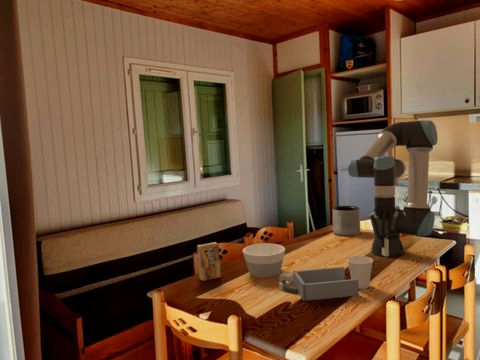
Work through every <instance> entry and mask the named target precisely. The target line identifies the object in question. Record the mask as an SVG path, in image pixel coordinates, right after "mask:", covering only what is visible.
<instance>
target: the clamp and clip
mask: <svg viewBox="0 0 480 360" xmlns="http://www.w3.org/2000/svg"><path fill="white" fill-rule="evenodd" d="M283 280H287V281H285V284H286V285H287V286H288V287H291V285H290V284H291V283H293V272H288V271H283V272H282V273H280V274H279V282H278V289H280V291H284V289H283V283H281V282H282V281H283Z"/></svg>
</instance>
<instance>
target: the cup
mask: <svg viewBox="0 0 480 360" xmlns="http://www.w3.org/2000/svg"><path fill="white" fill-rule="evenodd" d="M346 261H347V264H348V269H349V273H350V279H358V284H359V290H367V289H368V288H369V287H370V281H371V274H372V269H373V263H374V259H373V258H371V257H369V256H365V255H362V256H361V255H353V256H350V257H348V258H347V259H346Z"/></svg>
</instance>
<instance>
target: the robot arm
mask: <svg viewBox="0 0 480 360" xmlns="http://www.w3.org/2000/svg"><path fill="white" fill-rule="evenodd" d="M437 144H438V131H437V126H436V124H435V122H434V121H432V120H431V119H430V120H427V119H426V120H424V119H422V120H413V121H412V120H411V121H410V120H409V121H399V122H398V121H397V122H394V123H392V124H390V125H388V126H386V127H385V128H384V129H382V130H381V131H380V132H379V133H378V134H377V135H376V139H375V141H374V142H373V143H371V145H370V146H369V147H368V148H367V150H366V151H365V152H364V153H363V154H362V156H361V157H360V158H359V159H351V160H350V161H349V162H348V165H347V171H348V172H347V173H348V175H349V176H350V177H351V178H371V179H373V181H374V183H373V184H374V185H373V186H374V187H373V188H374V189H373V190H374V193H373V194H374V199H373V200H374V209H373V212H371V213H369V214H368V215H367V217H368V218H369V220H370V223H371V226H372V230H373V234H374V239H373V242H372V244H371V248H370V249H371V253H372V254H373V255H376V256H379V257H384V258H385V257H387V258H388V257H389V258H390V257H391V258H392V257H396V258H397V257H400V256H402V255H403V256H404V254H405V249H404V245H403V243H402V240H401V236H400V235H411V236H418V237H419V236H421V237H427V236H428V237H429V236H430V234H431V233H432V232H433V228H434V224H435V218H436V217H435V212H434V211H431V208H432V207H431V206H430V205H429V204H428V194H429V193H428V192H429V190H428V187H429V165H430V161H429V160H430V152H432V150H433V147H434V146H437ZM395 147H405V151H407V152H408V155H409V156H408V174H407V177H408V178H407V202H406V204H404V205H403V209H401V208H400V205H396V197H395V195H396V183H395V182H396V179H398V178H399V177H401V176H403V175H404V174H405V172H406V169H407V168H406V165H405V163H404V161H403V160H401V159H399V158H395V157H394V156H392V155H386V154H387V153H388V152H389V151H390V150H392V149H394V148H395Z"/></svg>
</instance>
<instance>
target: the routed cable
mask: <svg viewBox="0 0 480 360" xmlns="http://www.w3.org/2000/svg"><path fill="white" fill-rule="evenodd" d="M285 281H287V280H283V281H282V282H281V283H283V291H285V292H287V293H291V294H298V289H296V288H295V287H291V286H290V287H288V286H287V285H286V284H285Z"/></svg>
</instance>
